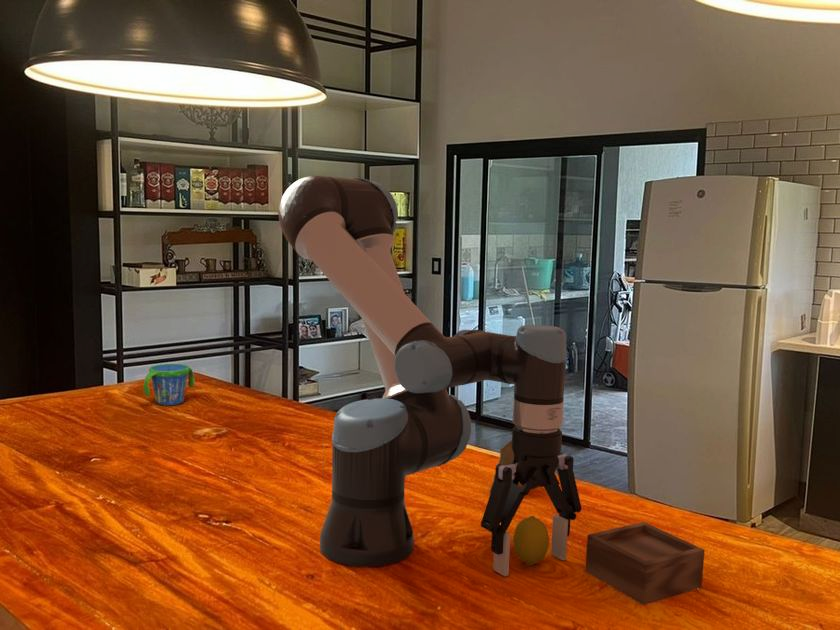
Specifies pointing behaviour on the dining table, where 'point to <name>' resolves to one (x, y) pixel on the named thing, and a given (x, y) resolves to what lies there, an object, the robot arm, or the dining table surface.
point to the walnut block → (644, 562)
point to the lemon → (531, 540)
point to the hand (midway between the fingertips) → (530, 564)
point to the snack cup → (169, 383)
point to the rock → (505, 457)
